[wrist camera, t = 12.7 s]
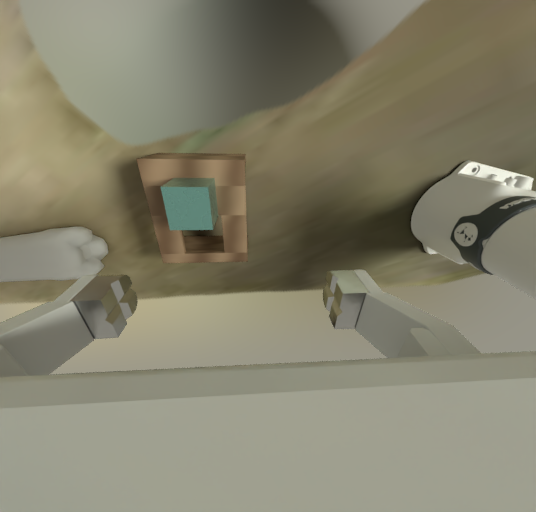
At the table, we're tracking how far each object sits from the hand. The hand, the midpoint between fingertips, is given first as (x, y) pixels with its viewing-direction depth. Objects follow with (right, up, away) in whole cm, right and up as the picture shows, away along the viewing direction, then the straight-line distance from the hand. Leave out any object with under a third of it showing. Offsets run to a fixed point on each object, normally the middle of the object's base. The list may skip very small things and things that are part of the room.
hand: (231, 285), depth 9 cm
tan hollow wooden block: (-9, +11, +31) cm, 34 cm away
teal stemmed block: (-9, +13, +28) cm, 32 cm away
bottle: (-44, +3, +33) cm, 55 cm away
